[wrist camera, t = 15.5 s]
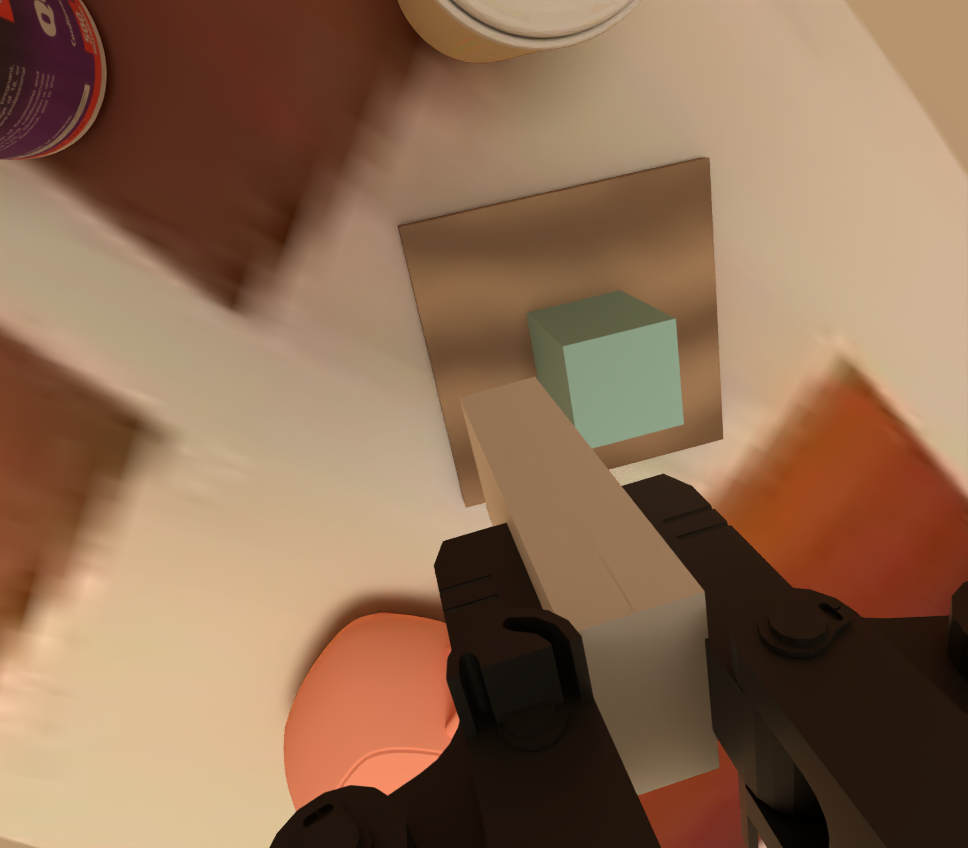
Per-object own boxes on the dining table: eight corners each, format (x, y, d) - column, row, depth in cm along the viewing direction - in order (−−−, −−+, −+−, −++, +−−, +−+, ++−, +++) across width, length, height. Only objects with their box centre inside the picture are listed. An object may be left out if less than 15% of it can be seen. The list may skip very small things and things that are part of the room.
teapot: (238, 768, 43) (199, 978, 32) (372, 525, 38) (379, 675, 27) (418, 809, 48) (437, 1006, 37) (559, 596, 43) (630, 749, 32)
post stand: (398, 225, 32) (406, 239, 27) (701, 157, 34) (766, 158, 29) (463, 500, 39) (481, 555, 34) (716, 433, 40) (771, 476, 35)
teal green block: (526, 312, 34) (562, 346, 28) (620, 290, 35) (675, 318, 29) (541, 402, 37) (578, 452, 31) (630, 380, 37) (683, 424, 31)
